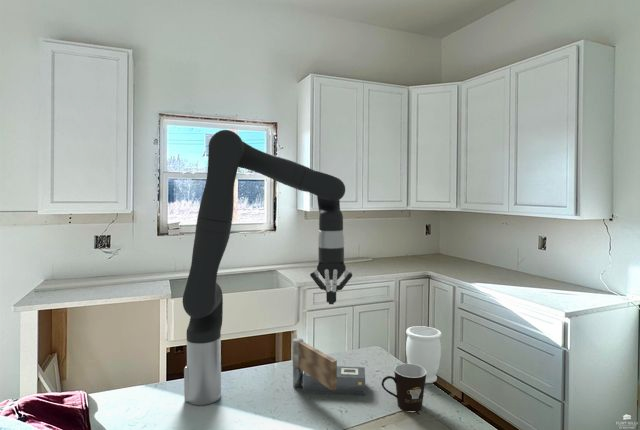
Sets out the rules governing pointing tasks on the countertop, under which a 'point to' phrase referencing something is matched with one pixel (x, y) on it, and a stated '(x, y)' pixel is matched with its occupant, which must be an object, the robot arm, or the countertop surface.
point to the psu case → (339, 382)
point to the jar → (424, 349)
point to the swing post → (297, 378)
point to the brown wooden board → (315, 363)
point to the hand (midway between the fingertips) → (331, 303)
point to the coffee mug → (408, 386)
